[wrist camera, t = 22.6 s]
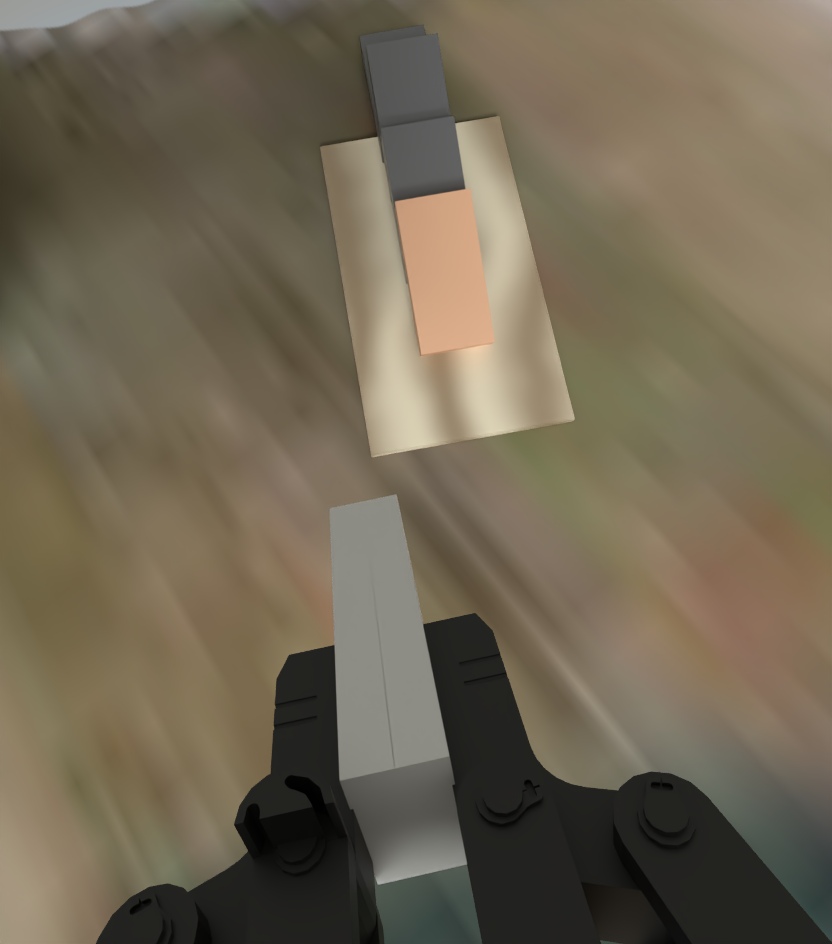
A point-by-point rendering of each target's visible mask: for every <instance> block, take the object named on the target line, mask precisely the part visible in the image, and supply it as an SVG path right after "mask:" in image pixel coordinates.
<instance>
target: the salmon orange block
mask: <svg viewBox="0 0 832 944" xmlns="http://www.w3.org/2000/svg"><path fill="white" fill-rule="evenodd" d="M395 213H396V219H397V225H398V231H399V236H400V242H401V248H402V254H403V260H404V265H405V271H406V277H407V283H408V288H409V294H410V300H411V306H412V312H413V317H414V323H415V329H416V335H417V341H418V346H419V352H420V357H421V356H426V355H432V354H438V353H443V352H449V351H455V350H460V349H466V348H472V347H477V346H483V345H489V344H492V343H494V342H495V339H494V333H493V327H492V321H491V314H490V308H489V302H488V295H487V289H486V283H485V276H484V270H483V264H482V257H481V251H480V245H479V239H478V232H477V226H476V220H475V213H474V207H473V201H472V194H471V188H469V189H464V190H458V191H452V192H446V193H441V194H435V195H429V196H423V197H417V198H412V199H406V200H400V201H395Z"/></svg>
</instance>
